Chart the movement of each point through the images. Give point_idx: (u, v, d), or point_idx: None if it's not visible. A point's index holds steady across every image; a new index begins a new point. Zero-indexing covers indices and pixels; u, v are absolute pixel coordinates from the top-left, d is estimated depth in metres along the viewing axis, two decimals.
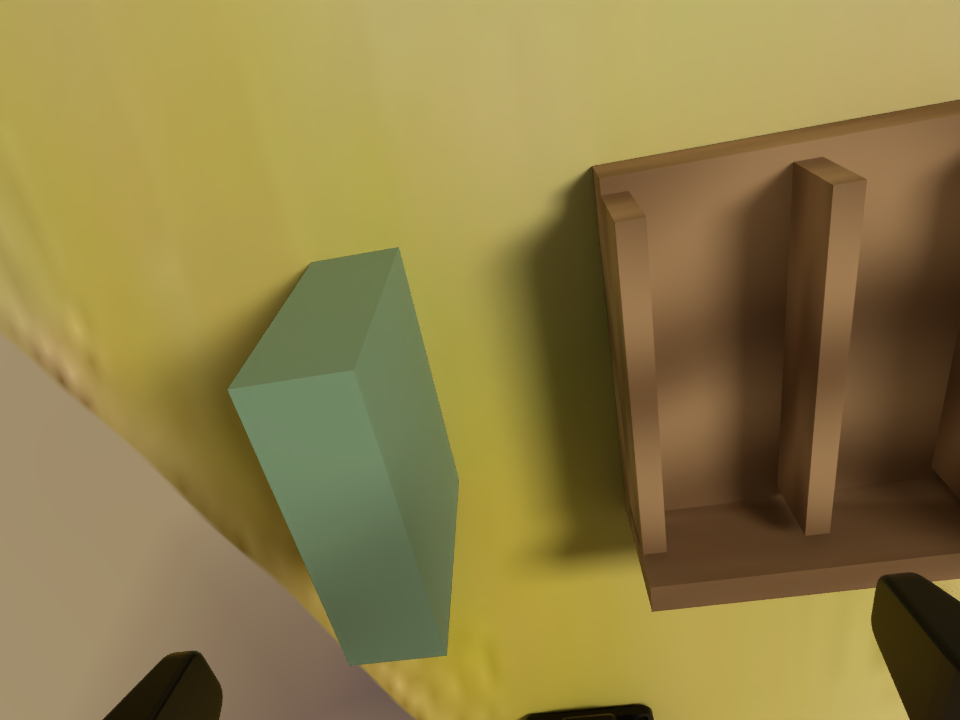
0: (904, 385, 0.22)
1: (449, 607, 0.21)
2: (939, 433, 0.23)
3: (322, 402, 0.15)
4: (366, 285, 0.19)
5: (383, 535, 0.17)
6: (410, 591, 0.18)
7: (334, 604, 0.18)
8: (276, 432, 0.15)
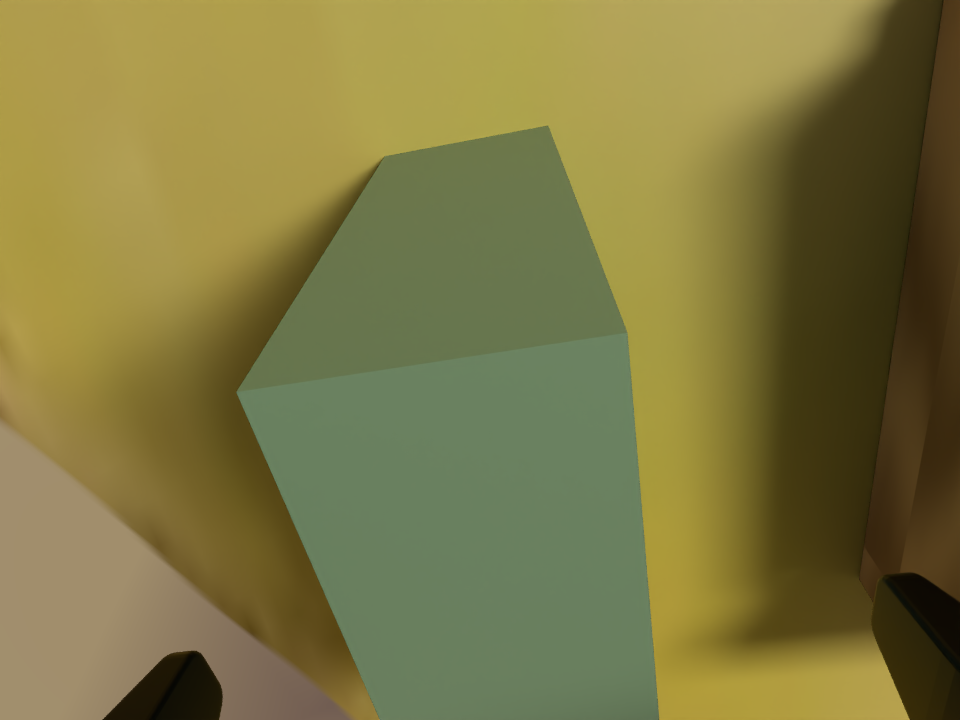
0: None
1: None
2: None
3: (511, 430, 0.05)
4: (521, 173, 0.09)
5: None
6: None
7: None
8: (370, 509, 0.06)
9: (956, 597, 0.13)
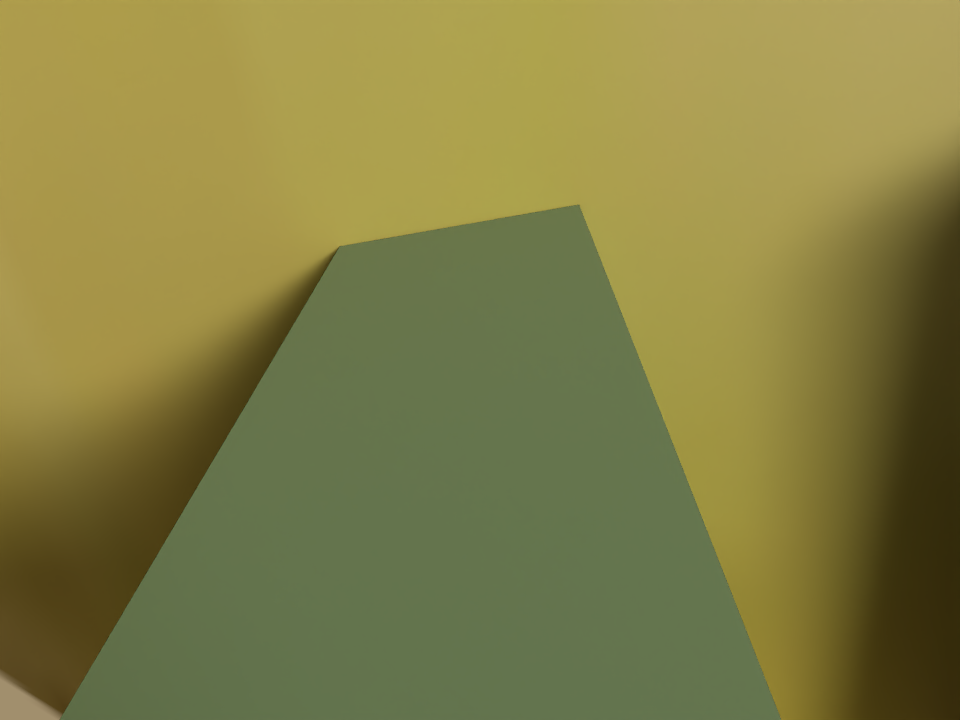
0: None
1: None
2: None
3: None
4: (549, 323, 0.05)
5: None
6: None
7: None
8: None
9: None
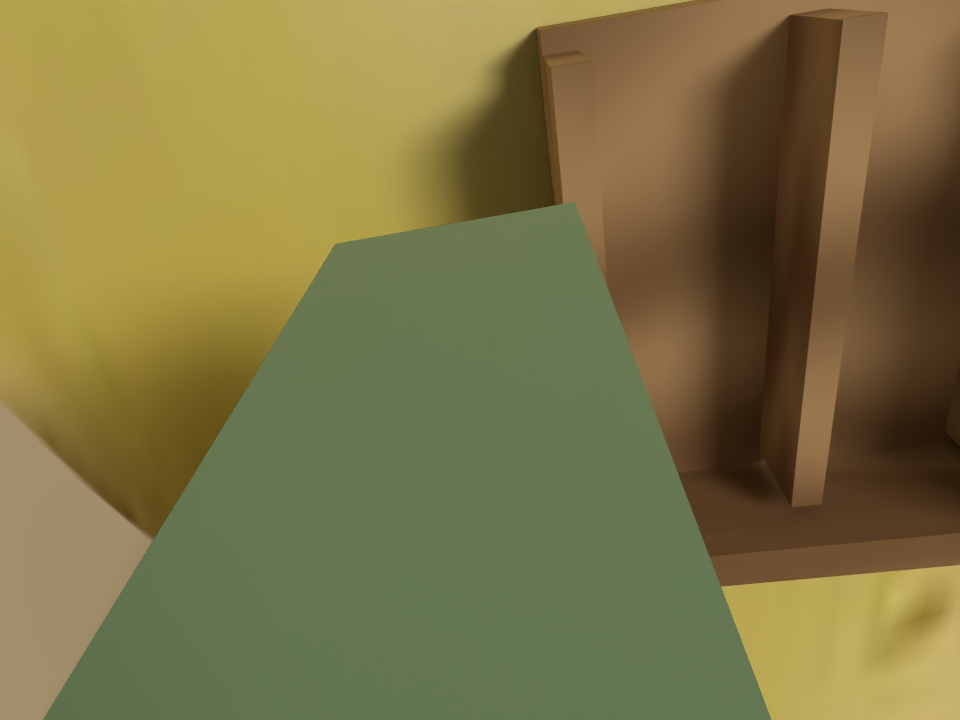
0: (917, 325, 0.18)
1: None
2: (957, 387, 0.19)
3: None
4: (542, 319, 0.05)
5: None
6: None
7: None
8: None
9: None
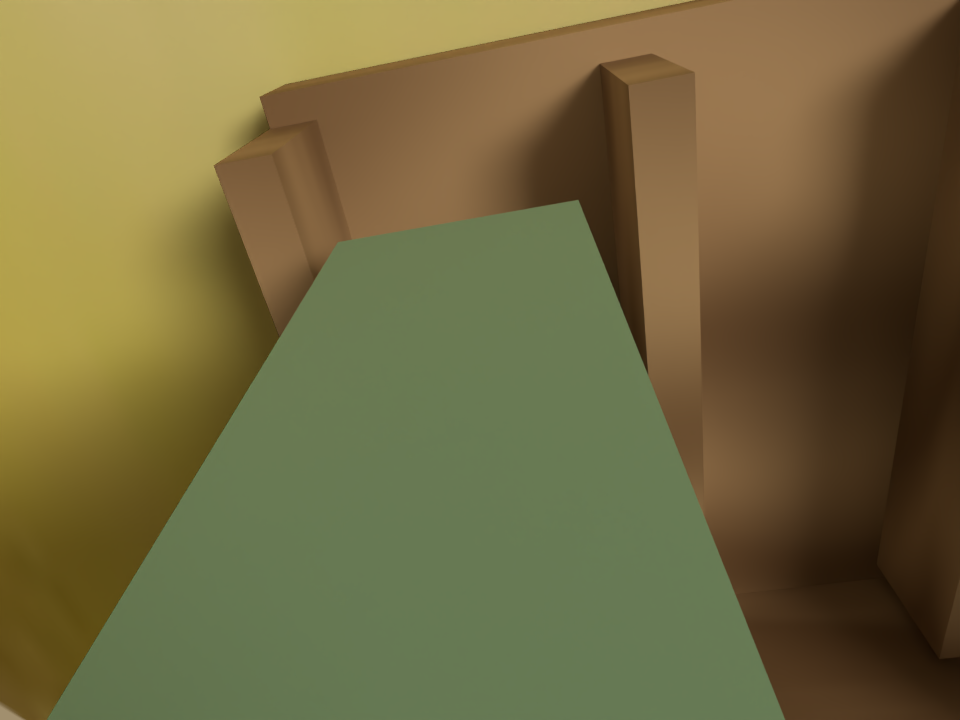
0: (827, 446, 0.14)
1: None
2: (887, 517, 0.15)
3: None
4: (547, 317, 0.05)
5: None
6: None
7: None
8: None
9: None
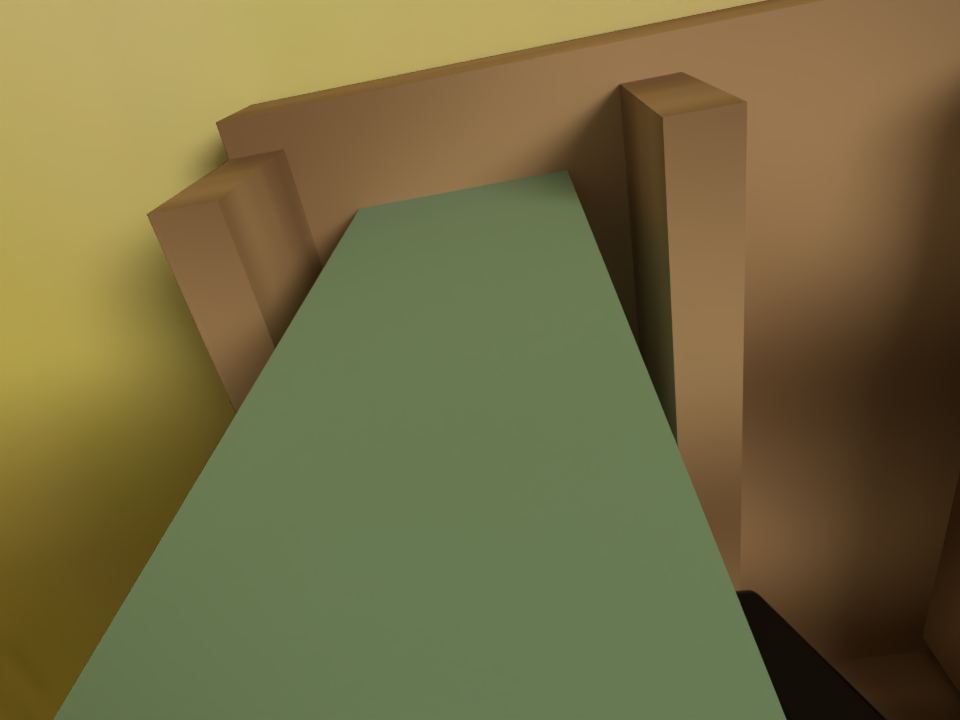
0: (872, 513, 0.12)
1: None
2: (937, 588, 0.13)
3: None
4: (538, 254, 0.07)
5: None
6: None
7: None
8: None
9: None
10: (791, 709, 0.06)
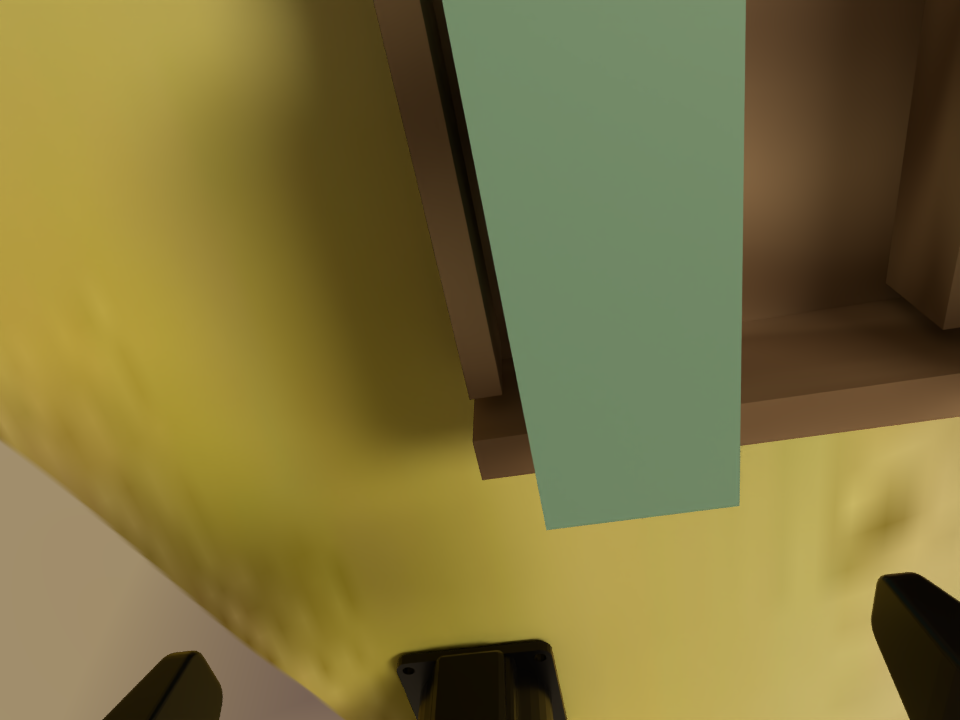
0: (842, 145, 0.15)
1: None
2: (896, 225, 0.16)
3: None
4: None
5: (687, 200, 0.08)
6: (708, 353, 0.09)
7: (544, 389, 0.09)
8: None
9: None
10: None
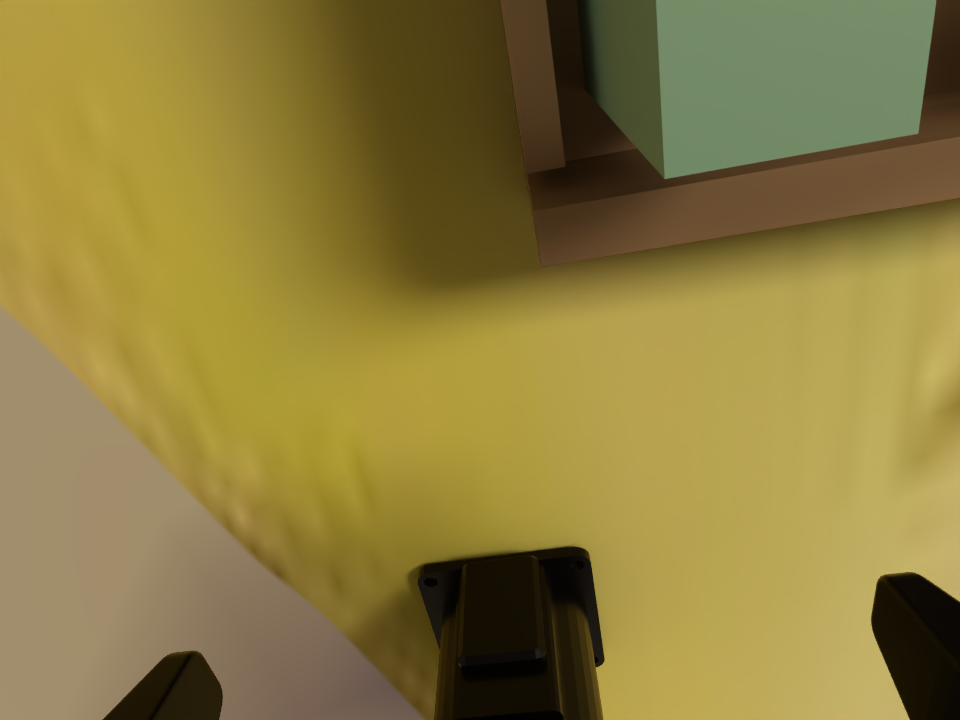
0: None
1: None
2: None
3: None
4: None
5: None
6: None
7: None
8: None
9: None
10: None
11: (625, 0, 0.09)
